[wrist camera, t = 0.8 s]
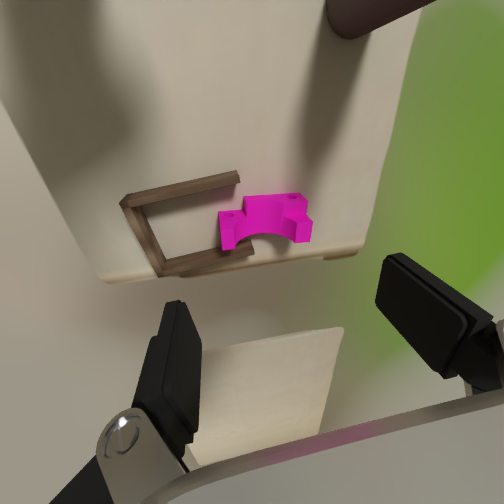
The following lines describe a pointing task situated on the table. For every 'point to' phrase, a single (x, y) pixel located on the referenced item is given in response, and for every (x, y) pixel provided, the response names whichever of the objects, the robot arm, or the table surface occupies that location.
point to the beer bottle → (367, 14)
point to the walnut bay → (149, 241)
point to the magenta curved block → (267, 219)
